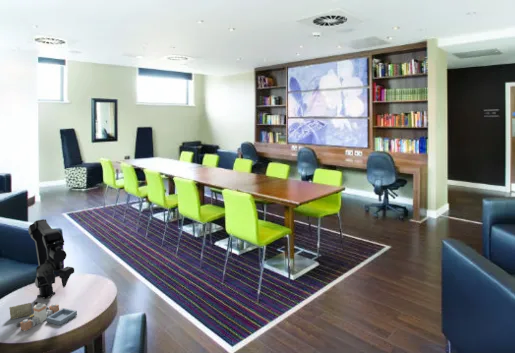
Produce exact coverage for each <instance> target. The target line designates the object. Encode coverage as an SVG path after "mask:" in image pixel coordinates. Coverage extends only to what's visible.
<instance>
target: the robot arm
mask: <svg viewBox="0 0 515 353" xmlns="http://www.w3.org/2000/svg"><path fill="white" fill-rule="evenodd" d="M27 229H28V230H27V231H28V235H30V238H31V239H32V241H34V244H35V250H36V257H37V262H38V266H37V267H36V268H35V270H36V277H35V280H34V285H35V287H36V288H37V289H38V292H39V294H38V295H36V296H37V298H41V299H47V298H50V297H51V296H53V295H55V294H56V292H55V291H54V290H53V289H54V287H53V284H56V274H55V273H58V278H60V279H61V286H62V288H66V286H67V284H68V281H69V279H70V277H71V275H73V274H75V268H74V267H72V266H64V265H65V264H64V263H62V262H63V261H65V260H66V258H67V253H66V251H65V250H64V249H63V248H62V247H63V246H65V239H64V236H63V234H62V233H61V232H60V231H59V230H58V229H56V228H52V227H51V226H50V225H49V223H48V221H47V219H44V218H43V219H42V218H41V219H38V220H35V221H34V222H33V223H32V224H30V225H29V226H28V228H27ZM61 246H62V247H61ZM54 272H55V273H54Z"/></svg>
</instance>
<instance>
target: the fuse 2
mask: <svg viewBox="0 0 515 353" xmlns="http://www.w3.org/2000/svg"><path fill="white" fill-rule="evenodd" d="M49 310H52V312H53V314H54V313H56V312H57V311H59V310H60V304H57V303H53V304H51V305H49Z"/></svg>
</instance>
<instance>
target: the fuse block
mask: <svg viewBox="0 0 515 353" xmlns="http://www.w3.org/2000/svg"><path fill="white" fill-rule="evenodd" d="M49 307H50V306H49ZM49 307H48V306H46V313H47V317H49V316H50V315H52V314H53V312H52V310H49ZM25 319H28V320H31V325H32V327H35V326H36V325H38V324H40V323H39V319H38V318H35V317H34V313H32V314H31V315H28V316H27V317H26V318H25ZM25 319H23V320H25ZM23 320H21V321H19V322H17V323H16V327H17V328H21V325H20V322H22V321H23ZM35 323H36V324H35Z"/></svg>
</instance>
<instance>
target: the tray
mask: <svg viewBox="0 0 515 353" xmlns="http://www.w3.org/2000/svg"><path fill="white" fill-rule="evenodd" d="M76 316H78V312H77V310H74V309H69V308H65V307H63V308H61V309H59V311H57V312H56V313H54V314H52V315H50V316H49V317H47V319H46V322H47V323H50V324H54V325H58V326H62V325H63V324H65V323H67V322H68V321H70V320H72V319H74V318H75V317H76Z"/></svg>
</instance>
